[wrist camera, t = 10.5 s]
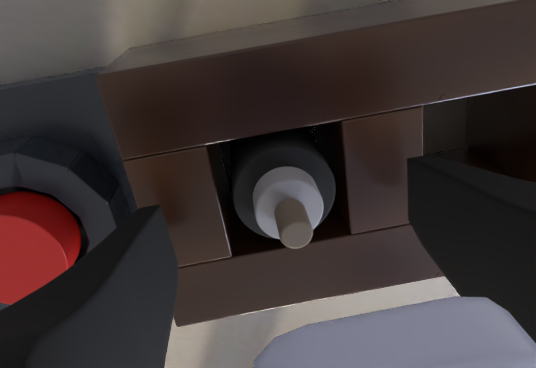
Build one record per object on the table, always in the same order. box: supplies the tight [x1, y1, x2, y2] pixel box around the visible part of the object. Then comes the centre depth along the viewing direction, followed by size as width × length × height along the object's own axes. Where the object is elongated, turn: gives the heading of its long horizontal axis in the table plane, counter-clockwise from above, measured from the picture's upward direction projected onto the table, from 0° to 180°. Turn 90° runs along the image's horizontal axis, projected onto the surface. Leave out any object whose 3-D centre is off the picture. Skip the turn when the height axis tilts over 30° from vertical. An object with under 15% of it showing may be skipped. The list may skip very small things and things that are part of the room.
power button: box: [0, 191, 82, 305], centre depth 15 cm, size 4×4×2 cm
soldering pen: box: [230, 127, 336, 249], centre depth 15 cm, size 3×3×8 cm
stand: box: [95, 0, 536, 327], centre depth 16 cm, size 9×16×5 cm, turn 99°
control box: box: [0, 66, 138, 310], centre depth 17 cm, size 10×8×3 cm
